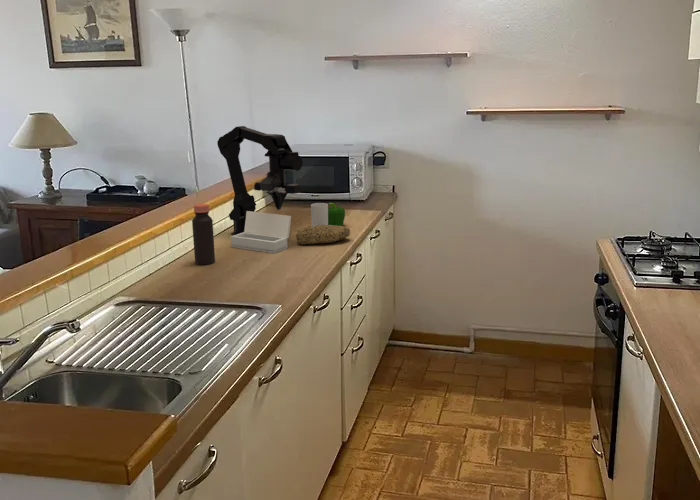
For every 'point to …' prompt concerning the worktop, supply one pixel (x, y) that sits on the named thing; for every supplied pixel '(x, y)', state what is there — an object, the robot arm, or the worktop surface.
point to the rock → (322, 234)
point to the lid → (267, 224)
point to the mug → (319, 214)
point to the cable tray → (259, 242)
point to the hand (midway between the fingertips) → (278, 209)
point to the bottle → (203, 235)
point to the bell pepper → (335, 215)
